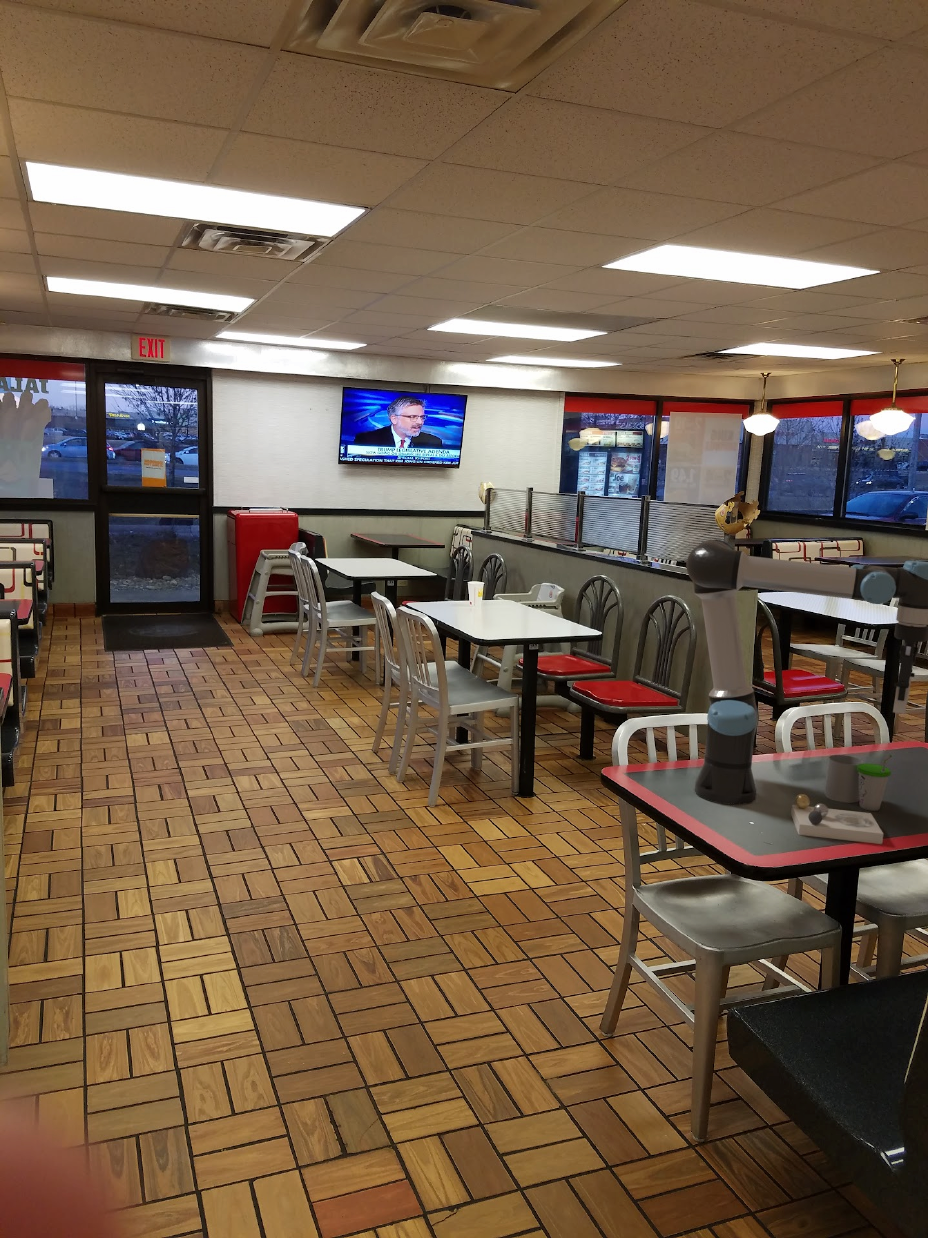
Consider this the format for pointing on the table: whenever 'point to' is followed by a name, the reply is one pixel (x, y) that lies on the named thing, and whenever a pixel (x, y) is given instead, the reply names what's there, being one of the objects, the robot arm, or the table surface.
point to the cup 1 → (842, 778)
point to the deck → (838, 825)
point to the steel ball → (821, 809)
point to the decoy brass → (802, 801)
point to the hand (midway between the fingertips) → (900, 707)
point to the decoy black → (815, 817)
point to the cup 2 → (872, 784)
